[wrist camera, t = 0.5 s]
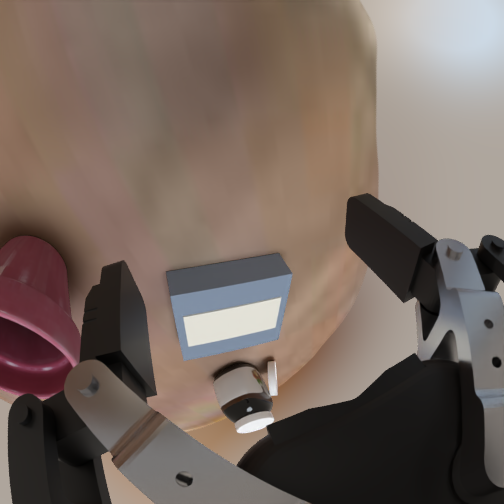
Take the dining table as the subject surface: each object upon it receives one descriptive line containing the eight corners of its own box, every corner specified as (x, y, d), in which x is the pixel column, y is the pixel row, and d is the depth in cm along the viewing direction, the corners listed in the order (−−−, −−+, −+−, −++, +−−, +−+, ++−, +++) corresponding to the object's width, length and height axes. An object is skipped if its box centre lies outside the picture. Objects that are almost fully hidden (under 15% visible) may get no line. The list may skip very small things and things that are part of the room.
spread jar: (203, 375, 49) (221, 432, 41) (252, 345, 48) (278, 403, 39) (239, 388, 57) (258, 435, 48) (283, 362, 56) (307, 410, 47)
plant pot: (-7, 303, 25) (-28, 387, 16) (-24, 207, 19) (-78, 292, 9) (87, 317, 32) (86, 407, 23) (92, 223, 26) (75, 322, 16)
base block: (166, 271, 32) (170, 297, 29) (278, 253, 37) (293, 274, 33) (178, 338, 40) (184, 361, 37) (268, 319, 44) (278, 340, 41)
